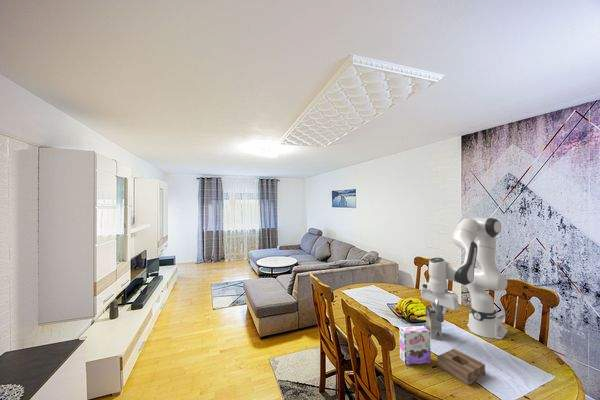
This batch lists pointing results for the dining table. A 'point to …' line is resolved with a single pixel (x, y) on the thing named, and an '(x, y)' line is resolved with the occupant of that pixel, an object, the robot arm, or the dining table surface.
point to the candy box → (414, 345)
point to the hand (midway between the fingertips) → (439, 312)
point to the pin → (439, 312)
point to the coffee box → (433, 324)
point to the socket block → (461, 366)
